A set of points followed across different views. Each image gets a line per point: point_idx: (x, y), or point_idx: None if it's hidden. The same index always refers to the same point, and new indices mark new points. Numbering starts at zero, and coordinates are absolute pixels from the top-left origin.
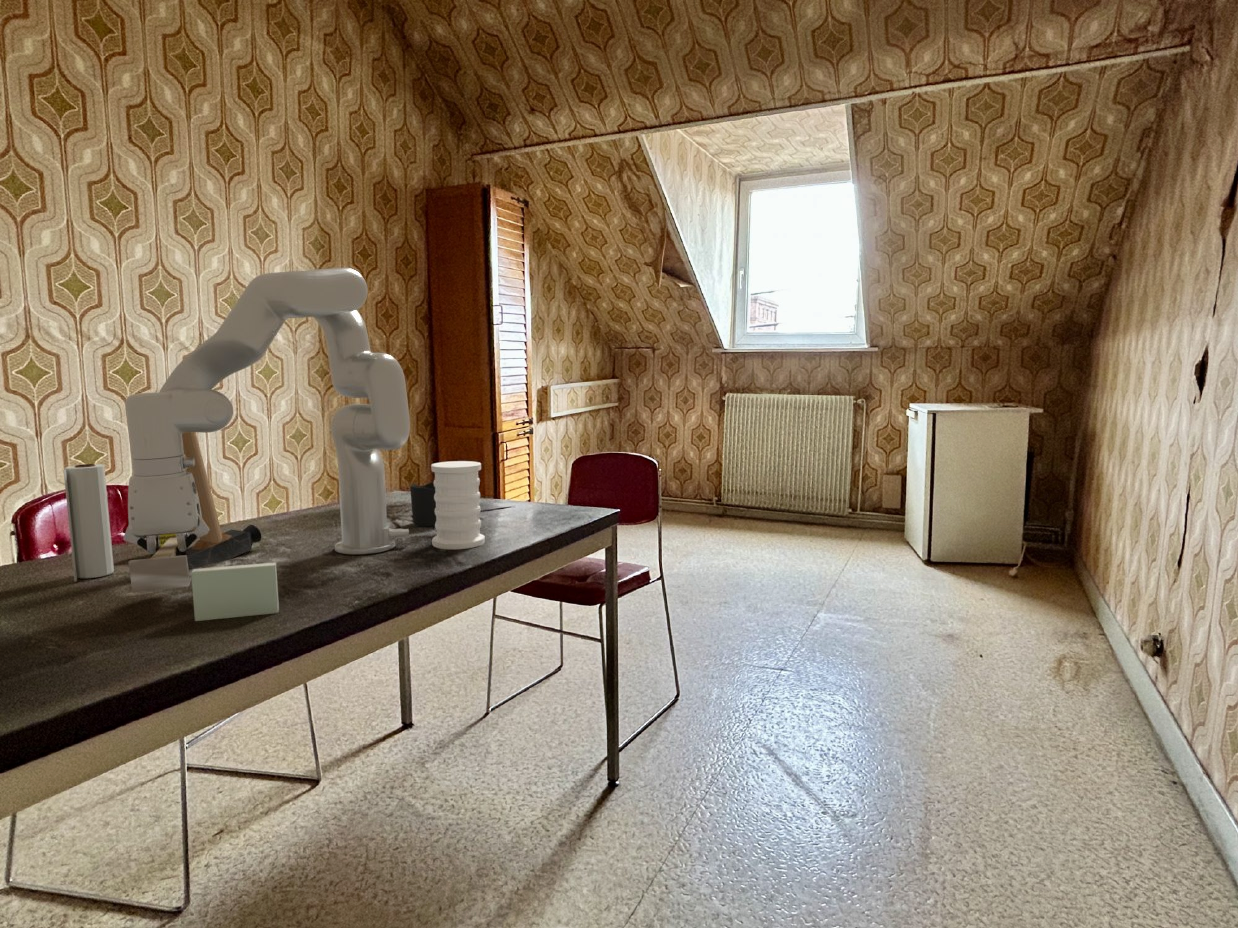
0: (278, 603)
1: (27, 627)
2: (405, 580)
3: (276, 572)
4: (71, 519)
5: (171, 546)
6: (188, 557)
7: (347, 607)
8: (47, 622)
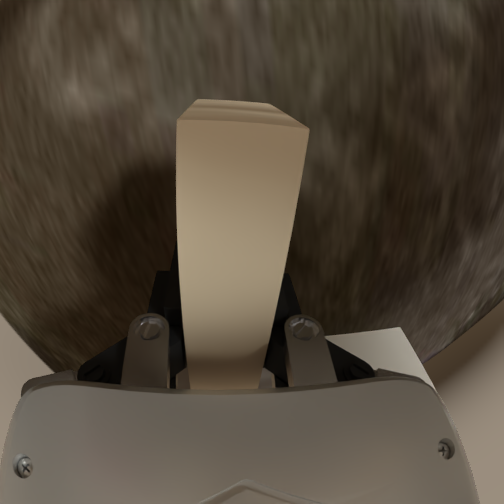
0: (403, 335)
1: (3, 299)
2: None
3: (427, 378)
4: None
5: (237, 356)
6: (294, 292)
7: (454, 333)
8: (12, 284)
